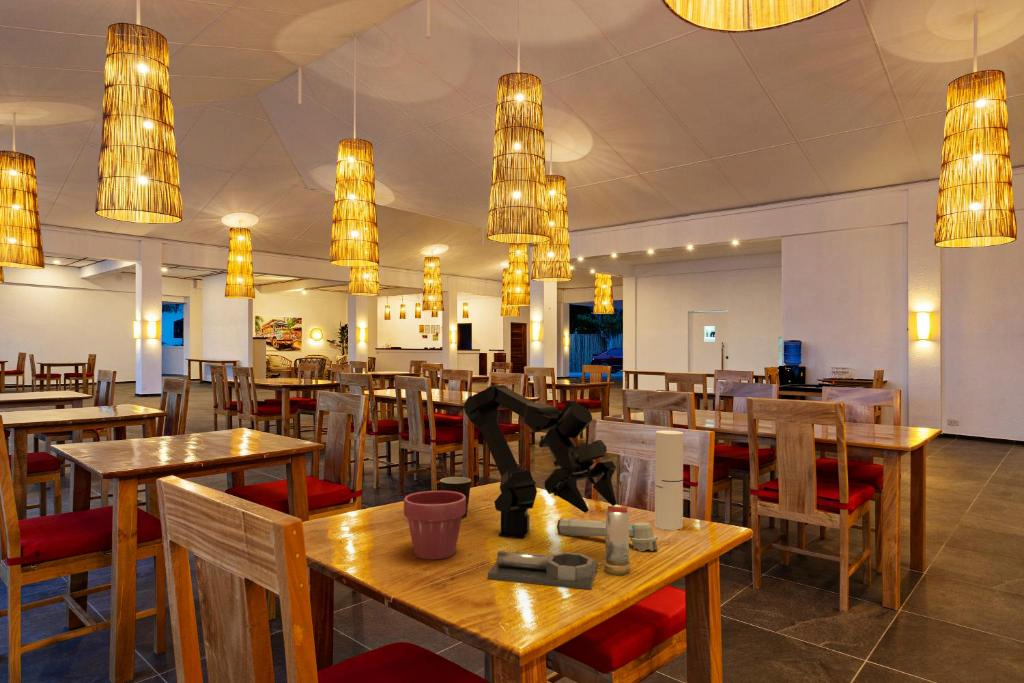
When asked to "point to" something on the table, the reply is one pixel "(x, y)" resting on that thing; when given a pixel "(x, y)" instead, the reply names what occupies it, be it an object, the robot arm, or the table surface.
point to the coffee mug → (457, 487)
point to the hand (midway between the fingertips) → (601, 508)
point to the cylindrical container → (669, 480)
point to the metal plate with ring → (545, 569)
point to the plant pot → (434, 522)
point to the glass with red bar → (617, 541)
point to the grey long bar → (637, 532)
